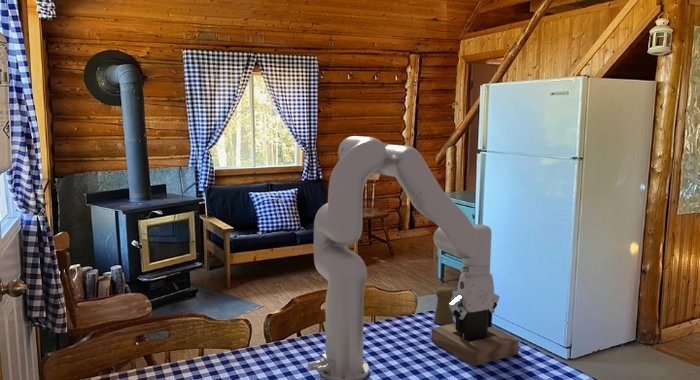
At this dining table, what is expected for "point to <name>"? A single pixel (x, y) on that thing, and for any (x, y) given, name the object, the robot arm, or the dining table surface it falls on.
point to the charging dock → (475, 344)
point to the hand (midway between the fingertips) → (473, 328)
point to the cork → (443, 306)
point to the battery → (476, 325)
